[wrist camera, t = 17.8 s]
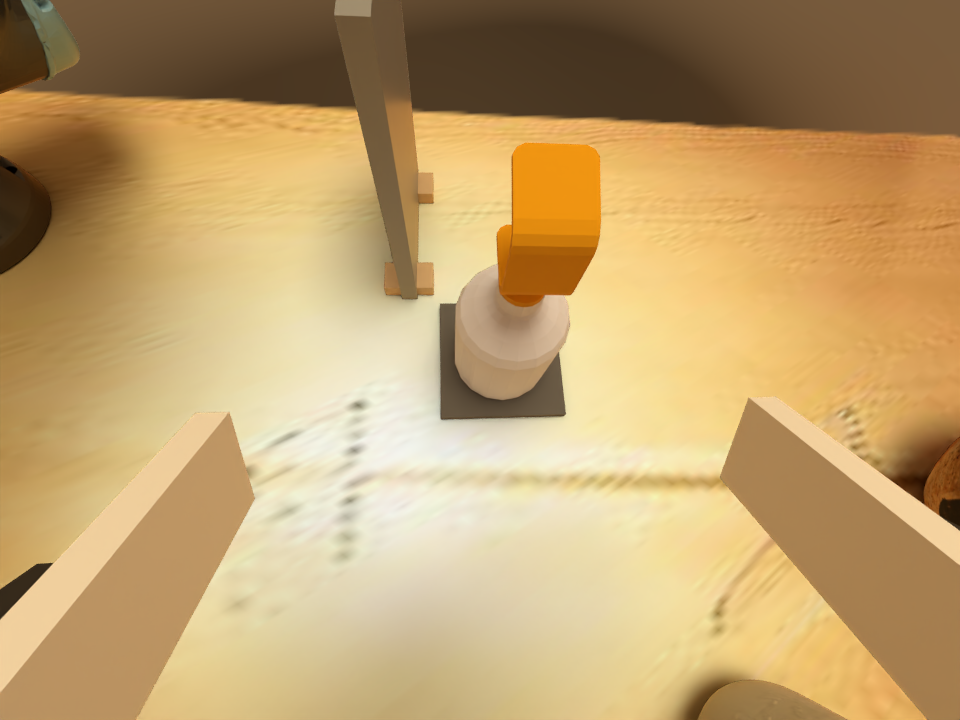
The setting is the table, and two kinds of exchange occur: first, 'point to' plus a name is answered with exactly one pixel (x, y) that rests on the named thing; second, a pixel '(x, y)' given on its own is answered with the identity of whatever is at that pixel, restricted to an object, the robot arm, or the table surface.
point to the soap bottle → (530, 271)
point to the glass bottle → (762, 704)
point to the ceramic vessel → (945, 485)
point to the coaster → (470, 404)
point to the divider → (388, 132)
